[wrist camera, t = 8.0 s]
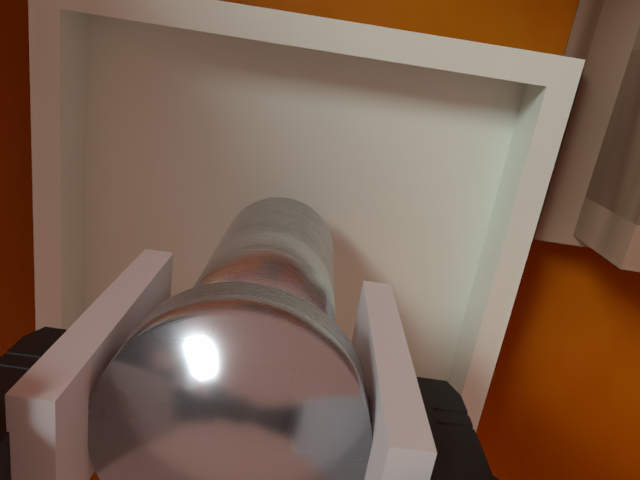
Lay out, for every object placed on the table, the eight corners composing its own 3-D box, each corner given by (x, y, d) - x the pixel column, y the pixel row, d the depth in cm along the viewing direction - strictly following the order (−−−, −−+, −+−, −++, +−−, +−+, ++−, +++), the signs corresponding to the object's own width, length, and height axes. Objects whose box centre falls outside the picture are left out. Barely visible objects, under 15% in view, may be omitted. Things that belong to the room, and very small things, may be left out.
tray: (70, 359, 25) (37, 398, 22) (70, -18, 20) (27, -31, 17) (453, 412, 25) (468, 457, 23) (549, 59, 20) (585, 59, 17)
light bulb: (203, 303, 20) (83, 537, 10) (214, 170, 19) (86, 296, 9) (337, 323, 21) (346, 569, 11) (361, 192, 19) (398, 340, 9)
